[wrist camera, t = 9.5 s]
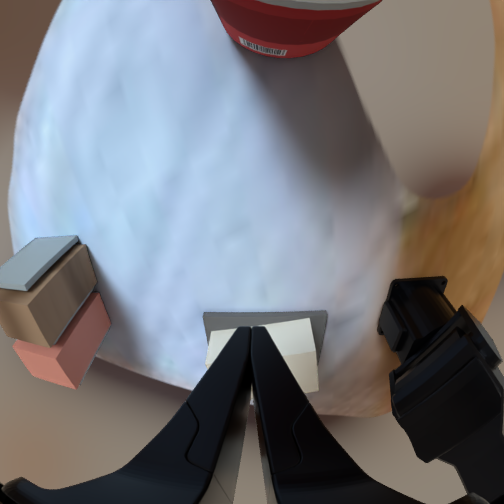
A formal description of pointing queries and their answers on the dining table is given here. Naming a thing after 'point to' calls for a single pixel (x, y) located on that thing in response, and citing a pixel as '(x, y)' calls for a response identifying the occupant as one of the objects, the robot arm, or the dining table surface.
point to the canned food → (288, 23)
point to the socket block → (37, 267)
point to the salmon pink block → (69, 346)
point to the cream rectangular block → (282, 349)
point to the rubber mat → (265, 322)
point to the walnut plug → (48, 299)
